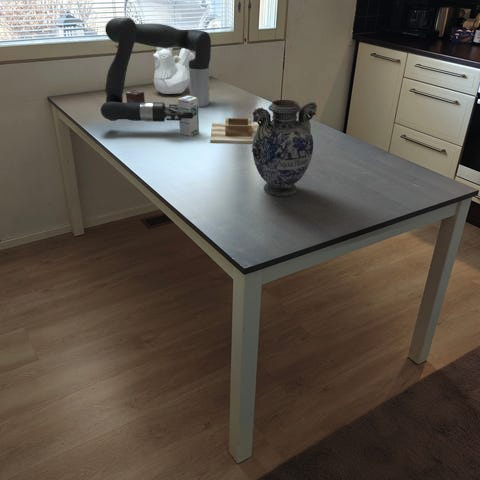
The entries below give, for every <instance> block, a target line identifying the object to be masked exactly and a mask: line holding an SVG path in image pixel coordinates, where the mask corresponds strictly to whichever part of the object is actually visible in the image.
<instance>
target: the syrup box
mask: <svg viewBox="0 0 480 480" xmlns="http://www.w3.org/2000/svg"><path fill="white" fill-rule="evenodd" d="M177 102H178V103H177V105H178V106H179V112H183V113H193V118H192V119H184V118H183V119H181V121H179V123H178V124H179V133H180V134H181V135H185V136H187V137H192V136H194V135H196V134H198V132H199V133H200V125H199V124H200V123H199V120H200V119H199V107H198V98H197V97H193V96H190V95H185V96H183V97H179V98H177Z"/></svg>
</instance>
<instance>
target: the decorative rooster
mask: <svg viewBox="0 0 480 480" xmlns="http://www.w3.org/2000/svg"><path fill="white" fill-rule="evenodd" d="M155 48H156V51H155V53H153V55H152V56H153V58H154V66H155V70H154V75H153V85H154V87H155V89H156V90H157V91H158V92H160V93H161V94H164V95H165V94H167V95H171V94H172V95H173V94H174V95H176V94H184V93H183V92H185V90H186V89H187V88H188V87H189V61H190V60H192V59H194V58H195V53H193V52H192V51H190V50H188V49H184V48H180V51H179V55H174V56H173V49H174V47H172V48H160V47H155ZM176 59H177V62H175V60H176Z"/></svg>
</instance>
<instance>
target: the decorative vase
mask: <svg viewBox="0 0 480 480" xmlns="http://www.w3.org/2000/svg"><path fill="white" fill-rule="evenodd" d="M317 107H318V105H317V104H316V102H313V101H307V102H306V103H305V104H304V105H303V106H300V105H299V102H297V101H295V100H291V99H278V100H277V99H276V100H273V101H272V103H271V104H270V105H269V106H268V109H265V108H264V107H258V108H255V109H254V110H253V112H252V117H253V118H252V123H257V124H258V125H259V126H258V128H257V131H256V133H255V135H254V139H253V143H252V145H251V152H252V156H253V162H254V166H255V168H256V170H257V173H258V174H259V175H260V177H261V178H262V179H263V181H264V182H266V183H265V184H264V185H263V191H264V192H265V193H267V194H268V195H272V196H276V197H287V196H292V195H294V194H295V193H296V192H297V186H296V183H298V182H299V181H300V180H301V179H302V177H303V176H304V175H305V173H306V171H307V170H308V168H309V167H310V166H309V165H310V163H311V160H312V157H313V153H314V139H313V137H314V136H313V135H312V133H311V128H312V127H311V122H310V120H312V118H313V117H314V116H316V115H317ZM268 110H269V111H271V112H272V117H271V113H270V112H269V111H268ZM297 115H298V116H297Z"/></svg>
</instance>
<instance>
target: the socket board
mask: <svg viewBox="0 0 480 480" xmlns="http://www.w3.org/2000/svg"><path fill="white" fill-rule="evenodd" d="M258 126H259V125H258V123H257V122H252V118H250V117H249V118H246V117H225V122H212V123H211V128H210V129H211V131H210V137H209V139H210V140H209V141H210V142H209V143H210V144H211V143H212V144H213V143H215V144H219V143H220V144H253V139H254V135H255V133H256V131H257V128H258Z"/></svg>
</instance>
